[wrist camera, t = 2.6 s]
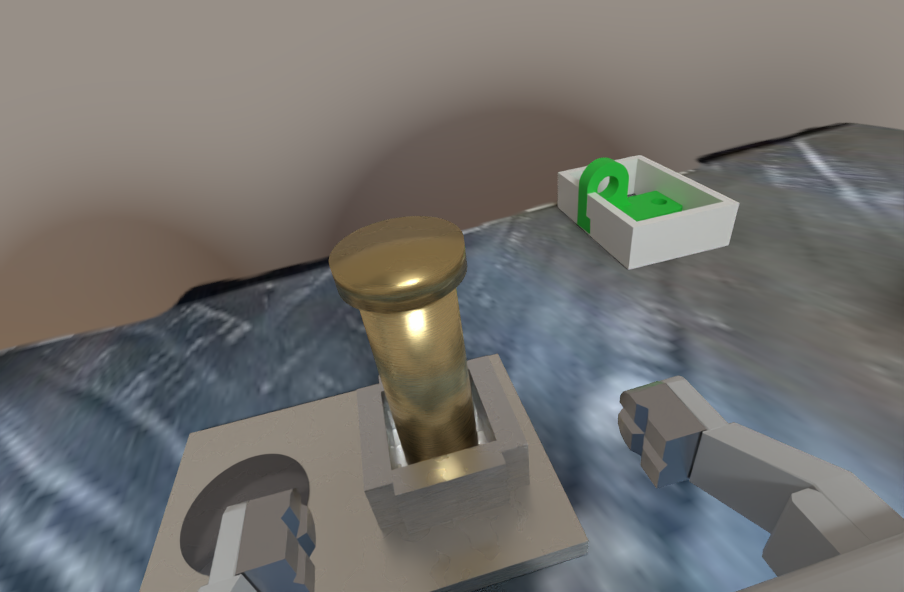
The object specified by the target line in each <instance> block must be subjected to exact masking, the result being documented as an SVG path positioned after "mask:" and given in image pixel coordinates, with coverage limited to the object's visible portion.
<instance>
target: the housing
mask: <svg viewBox="0 0 904 592" xmlns="http://www.w3.org/2000/svg"><path fill="white" fill-rule="evenodd" d="M467 366H468V373H469V380H470V386H471V393H472V400H473V407H474V414H475V421H476V427H477V434H478V441H479V445H478V446H475V447H471V448H468V449H464V450H461V451H457V452H454V453H450V454H447V455H443V456H440V457H436V458H433V459H429V460H426V461H422V462H418V463H415V464H411V465H408V466H407V463H406V460H405V456H404V453H403V450H402V447H401V443H400V440H399V437H398V434H397V430H396V427H395V424H394V421H393V417H392V414H391V411H390V408H389V404H388V401H387V398H386V395H385V391H384V388H383V385H382V382H381V378H380V375H379V384H375V385H372V386H368V387H364V388H360V389H356V391H352V392H348V393H344V394H341V395H337V396H333V397H329V398H325V399H321V400H317V401H314V402H310V403H306V404H302V405H298V406H294V407H290V408H287V409H283V410H279V411H275V412H271V413H267V414H263V415H260V416H256V417H252V418H248V419H244V420H240V421H237V422H233V423H229V424H225V425H221V426H217V427H213V428H210V429H206V430H202V431H198V432H194V433H190V435H189V438H188V441H187V444H186V447H185V450H184V454H183V457H182V460H181V463H180V466H179V469H178V472H177V475H176V479H175V482H174V485H173V488H172V491H171V494H170V497H169V500H168V504H167V507H166V510H165V513H164V516H163V519H162V522H161V526H160V529H159V532H158V535H157V538H156V541H155V544H154V547H153V551H152V554H151V557H150V560H149V563H148V566H147V569H146V572H145V576H144V579H143V582H142V585H141V588H140V591H139V592H197V591H198V590H199V588H200V587H201V586H204V585H207V584H208V581H209V577H210V572H211V567H212V562H213V558H214V553H215V548H216V544H217V539H218V534H219V530H220V525H221V520H222V516H223V514H224V512H225V510H226V508H227V507H228V506H232V505H235V504H239V503H242V502H246V501H249V500H253V499H257V498H261V497H264V496H268V495H272V494H275V493H279V492H283V491H287V490H290V489H294V488H296V489H297V490H298V492H299V493H300V495H301V504H302V505H305V506H308V508H309V509H310V511H311V513H312V516H313V519H314V524H315V532H316V547H315V549H314V551H313V552H312V554H311V556H310V557H309V558H310V560H311V561H312V563H313V564H314V566H315V591H314V592H471V591H474V590H477V589H481V588H484V587H487V586H490V585H493V584H496V583H499V582H502V581H505V580H508V579H512V578H515V577H518V576H521V575H524V574H527V573H530V572H533V571H536V570H539V569H542V568H546V567H549V566H552V565H555V564H558V563H561V562H564V561H567V560H570V559H573V558H577V557H580V556H583V555H586V554H587V553H588V542H589V540H588V538H587V536H586V534H585V532H584V530H583V528H582V526H581V524H580V522H579V520H578V518H577V516H576V514H575V512H574V510H573V508H572V506H571V503H570V501H569V499H568V497H567V495H566V493H565V491H564V489H563V487H562V485H561V483H560V481H559V479H558V477H557V475H556V473H555V471H554V468H553V466H552V464H551V462H550V460H549V458H548V456H547V454H546V452H545V450H544V448H543V446H542V444H541V442H540V440H539V438H538V436H537V434H536V431H535V429H534V427H533V425H532V423H531V421H530V419H529V417H528V415H527V413H526V411H525V409H524V407H523V405H522V403H521V401H520V399H519V396H518V394H517V392H516V390H515V388H514V386H513V384H512V382H511V380H510V378H509V376H508V374H507V372H506V370H505V368H504V366H503V364H502V361H501V359H500V357H499V355H498V354H495V355H491V356H488V355H487V356H483V357H480V358H476V359H472V360H468V361H467Z"/></svg>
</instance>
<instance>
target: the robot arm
mask: <svg viewBox="0 0 904 592" xmlns="http://www.w3.org/2000/svg"><path fill="white" fill-rule="evenodd" d="M620 403H621V405H622V406H623V409H622V410H621V412H620V413H619V414H618V425H619V429H620V433H621V435H622V437H623V439H624V441H625V443H626V444H627V446H628V447H629V449H630V450H631V451H633V452H635V453H637V454H639V455H640V456H641V467H642V468H643V470H644V471H645V472H646V474H647V475H648V477H649V478H650V480H651V481H652V483H653V484H654V486H655V487H656V488H660V487H664V486H667V485H671V484H674V483H678V482H681V481H685V480H688V479H690V480H689V481H690V482H691V483H693V484H694V485H696V486H697V487H699V488H701V489H702V490H704V491H705V492H707V493H708V494H710V495H711V496H713V497H715V498H716V499H718V500H719V501H721V502H722V503H724V504H725V505H727V506H729V507H730V508H732V509H733V510H735V511H736V512H738V513H740V514H741V515H743V516H744V517H746V518H747V519H749V520H750V521H752V522H754V523H755V524H757V525H758V526H760V527H761V528H763V529H764V530H766V531H768V532H769V533H771V535H770V537H769V539H768V541H767V543H766V545H765V547H764V549H763V554H762V557H763V559H764V560H765V561H766V562H767V564H768V565H769V566H770V568H771V569H772V570H773V572H774V573H775V574H776V575H777V577H776V578H773V579H770V580H767V581H764V582H761V583H759V584H756V585H753V586H750V587H747V588H744V589H742V590H739V591H736V592H904V519H903V518H902V517H901V516H900V515H899V514H898V513H897V512H895V511H894V510H893V509H892V508H891V507H890V506H889V505H888V504H886V503H885V502H884V501H883V500H882V499H881V498H880V497H879V496H877V495H876V494H875V493H874V492H873V491H872V490H871V489H870V488H868V487H867V486H866V485H865V484H864V483H863V482H862V481H861V480H860V479H858V478H857V477H856V476H855V475H854V474H853V473H852V472H849V471H847V470H845V469H842V468H840V467H838V466H835V465H833V464H831V463H828V462H826V461H824V460H821V459H819V458H817V457H814V456H812V455H810V454H807V453H805V452H803V451H800V450H798V449H796V448H793V447H791V446H789V445H786V444H784V443H782V442H779V441H777V440H775V439H772V438H770V437H768V436H765V435H763V434H761V433H758V432H756V431H754V430H751V429H749V428H747V427H744V426H742V425H740V424H737V423H735V422H733V423H729V424H728V423H727V422H726V421H725V420H724V419H723V417H722V416H721V415H720V414H719V413H718V412H717V411H716V410H715V409H714V408H713V407H712V406H711V405H710V404H709V403H708V402H707V401H706V400H705V399H704V398H703V397H702V396H701V395H700V394H699V393H698V392H697V391H696V390H695V389H694V388H693V387H692V386H691V385H690V384H689V383H688V381H687V380H686V379H685V378H683V377H681V376H675V377H671V378H668V379H665V380H662V381H656V382H653V383H650V384H647V385H643V386H640V387H637V388H634V389H630V390H627V391H624V392H623V393H622V394H621V395H620ZM315 547H316V532H315V524H314V519H313V516H312V513H311V511H310V509H309V508H308V506H305V505H302V504H301V495H300V493H299V492H298V490H297V489H296V488H294V489H290V490H287V491H283V492H279V493H275V494H272V495H268V496H264V497H261V498H257V499H253V500H249V501H246V502H242V503H239V504H235V505H232V506H228V507H227V508H226V510H225V512H224V514H223V516H222V520H221V525H220V530H219V534H218V539H217V544H216V548H215V553H214V558H213V562H212V567H211V572H210V577H209V581H208V584H207V585H204V586H201V587H200V588H199V590H198V591H197V592H314V591H315V566H314V564H313V563H312V561H311V560H310V558H309V557H310V556H311V554H312V552H313V551H314V549H315Z"/></svg>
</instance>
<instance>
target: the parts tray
mask: <svg viewBox="0 0 904 592" xmlns="http://www.w3.org/2000/svg"><path fill="white" fill-rule="evenodd" d="M614 161H616V162H618V163H620V164H622V165H624V166H625V167H626V169H627V171H628V174H629V185H628V194H627V195H629V194H635V195H640V194H644V193H648V192H652V191H658V192H660V193H661V194H663V195H665V196H667V197H668V198H670V199H672V200H674V201H675V202H677V203H679V204H681V205H682V206H683V207H682V211H681V212H676V213H672V214H668V215H663V216H659V217H655V218H650V219H646V220H642V221H638V222H637V221H635V220H634V219H632V218H631V217H630V216H628V215H627V214H625V213H624V212H622V211H621V210H620V209H618V208H617V207H615V206H614V205H613V204H611V203H610V202H608V201H607V200H605V199H604V198H603V197H601V196H600V195H598V194H597V193H596V192H594V193H590V194H587V213H586V216H587V217H589V218H590V234H589V233H588V232H586V231H585V230H584V229H583V228H582V229H583V230H584V231H585V232H586V233H587V234H589V235H590V236H591V237H592V238H593V239H594V240H595V241H596V242H598V243H599V244H600V245H601V246H602V247H603V248H604V249H605V250H607V251H608V252H609V253H610V254H611V255H612V256H613V257H615V258H616V259H617V260H618V261H619V262H620V263H621V264H622V265H624V266H625V267H626V268H627V269H628V270H629V269H634V268H638V267H642V266H646V265H650V264H654V263H658V262H662V261H666V260H670V259H674V258H678V257H683V256H687V255H691V254H695V253H699V252H703V251H707V250H711V249H715V248H719V247H723V246H727V245H729V241H730V237H731V233H732V230H733V226H734V222H735V218H736V214H737V210H738V206H739V203H738V202H736V201H734V200H732V199H730V198H728V197H726V196H724V195H722V194H720V193H718V192H716V191H714V190H712V189H709V188H707V187H705V186H703V185H701V184H699V183H697V182H695V181H693V180H691V179H689V178H687V177H685V176H683V175H681V174H679V173H676V172H674V171H672V170H670V169H668V168H666V167H664V166H662V165H660V164H658V163H656V162H654V161H652V160H650V159H648V158H646V157H643V156H641V155H638V156H633V157H628V158H624V159H619V160H614ZM586 167H587V166H586ZM586 167H581V168H576V169H572V170H568V171H563V172H558V208H559V209H560V210H561V211H563V212H564V213H565V214H566V215H567V216H568V217H569V218H570V219H572V220H573V221H574V222H575V223H576V224H577V216H578V192H579V180H580V177H581V175H582V173H583V171H584V170H585V168H586ZM608 183H609V176H608V177H606V178H604V179H603V180H602V181H601V182H600V184H599V186H598V193H600V192H602V191H603V190H604V189H605V188H606V187H607V185H608ZM577 225H578V224H577ZM578 226H579V225H578Z"/></svg>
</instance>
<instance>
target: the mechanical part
mask: <svg viewBox="0 0 904 592" xmlns="http://www.w3.org/2000/svg"><path fill="white" fill-rule="evenodd" d="M608 176H609V183H608V185H607V187H606V188H605V189H604V190H603V191H602V192H600V193H598V186H599V184H600V182H601V181H602V180H603V179H604V178H606V177H608ZM628 185H629V174H628V171H627V169H626V167H625V166H624V165H622V164H620V163H618V162H616V161H614V160H612V159H610V158H599V159H597V160H595V161H593V162H592V163H590V164H589V165H588V166H587V167H586V168H585V170H584V171H583V173H582V175H581V177H580V180H579V192H578V216H577V224H578V225H579V226H580V227H581V228H583V229H584V230H585V231H586V232H588V233H589V234H590V218H589V217H587V216H586V213H587V194H590V193H594V192H596V193H597V194H598V195H600V196H601V197H603V198H604V199H605V200H607V201H608V202H610V203H611V204H613V205H614V206H615V207H617V208H618V209H620V210H621V211H622V212H624V213H625V214H627V215H628V216H630V217H631V218H632V219H634V220H635V221H637V222H638V221H642V220H646V219H650V218H655V217H659V216H663V215H668V214H672V213H676V212H681V211H682V207H683V206H682V205H681V204H679V203H677V202H675V201H674V200H672V199H670V198H668V197H667V196H665V195H663V194H661V193H660V192H658V191H652V192H648V193H644V194H640V195H636V196H632V197H628V198H627V194H628Z"/></svg>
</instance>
